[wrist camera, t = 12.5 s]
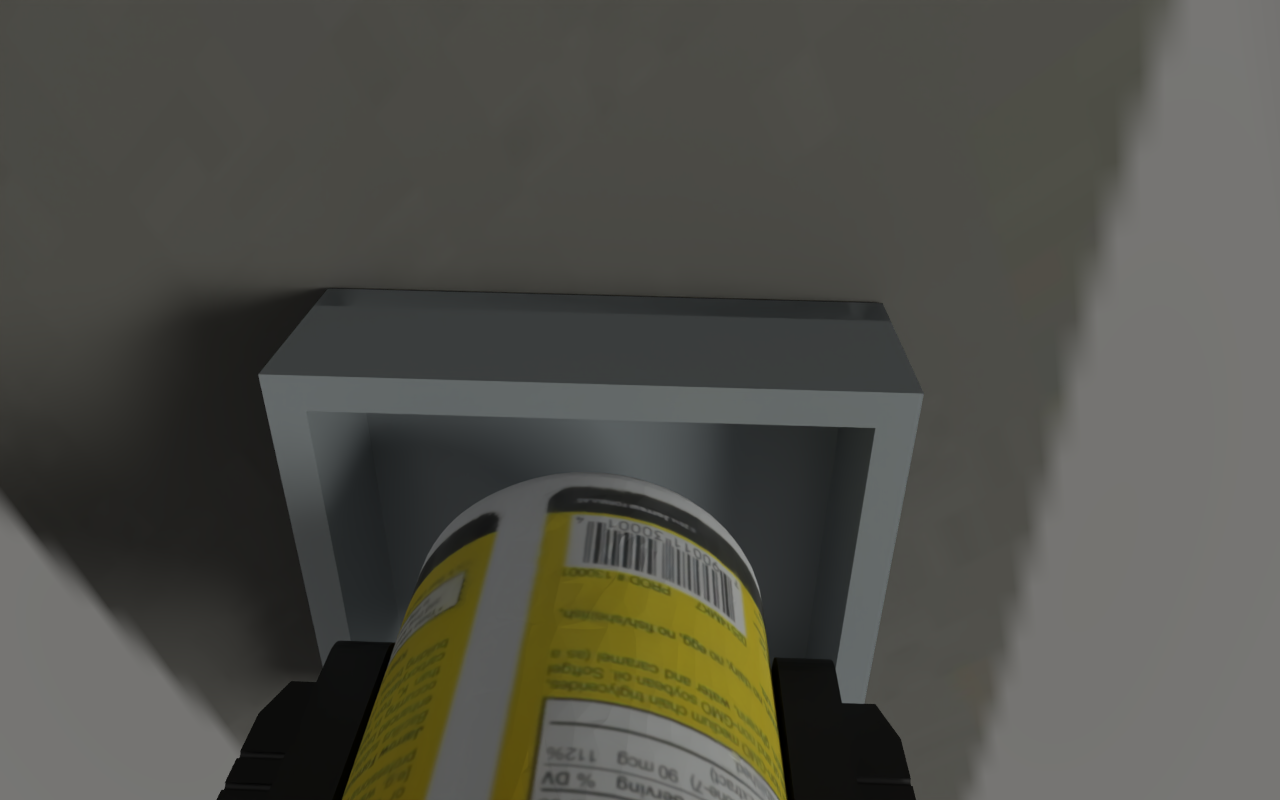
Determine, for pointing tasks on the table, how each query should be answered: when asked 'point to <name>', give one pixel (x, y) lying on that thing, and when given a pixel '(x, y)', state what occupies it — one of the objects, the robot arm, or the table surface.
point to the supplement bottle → (578, 656)
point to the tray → (598, 439)
